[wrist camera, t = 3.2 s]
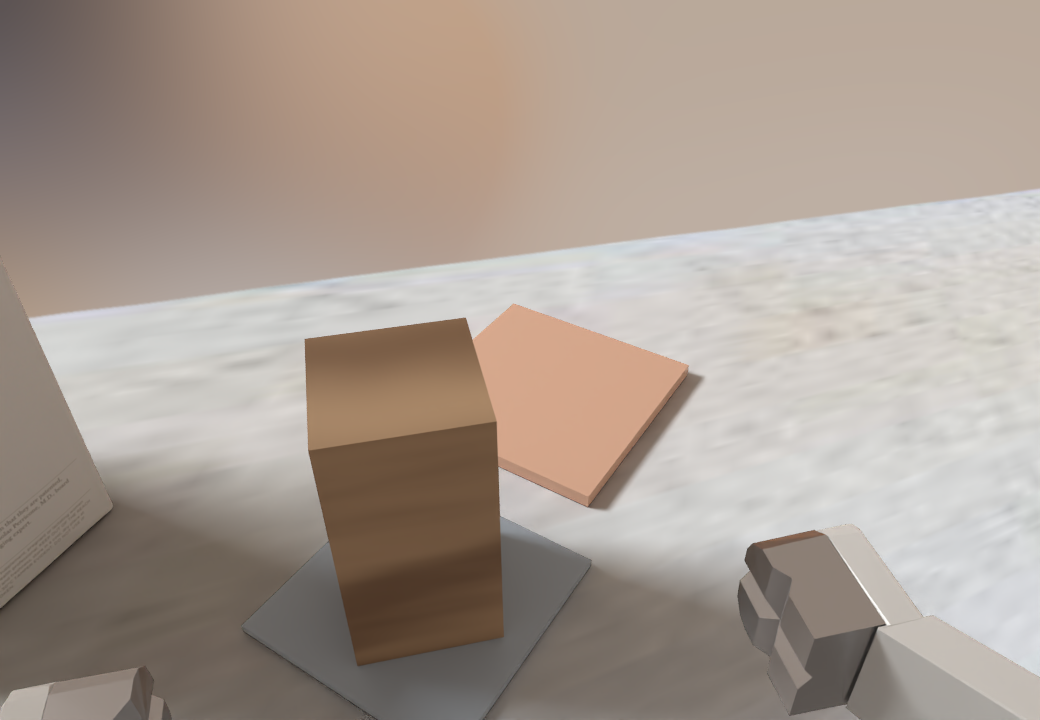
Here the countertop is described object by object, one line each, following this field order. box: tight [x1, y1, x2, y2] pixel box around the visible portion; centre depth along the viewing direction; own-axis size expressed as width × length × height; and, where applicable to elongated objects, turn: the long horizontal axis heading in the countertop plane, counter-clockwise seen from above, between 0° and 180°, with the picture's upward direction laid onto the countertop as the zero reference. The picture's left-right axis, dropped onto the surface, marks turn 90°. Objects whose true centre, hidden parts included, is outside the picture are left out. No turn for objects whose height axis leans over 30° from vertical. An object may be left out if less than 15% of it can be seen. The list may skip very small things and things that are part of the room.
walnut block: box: [305, 318, 504, 666], centre depth 27 cm, size 5×5×10 cm
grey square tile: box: [241, 516, 591, 720], centre depth 30 cm, size 9×9×1 cm
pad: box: [473, 304, 689, 507], centre depth 39 cm, size 10×10×1 cm
